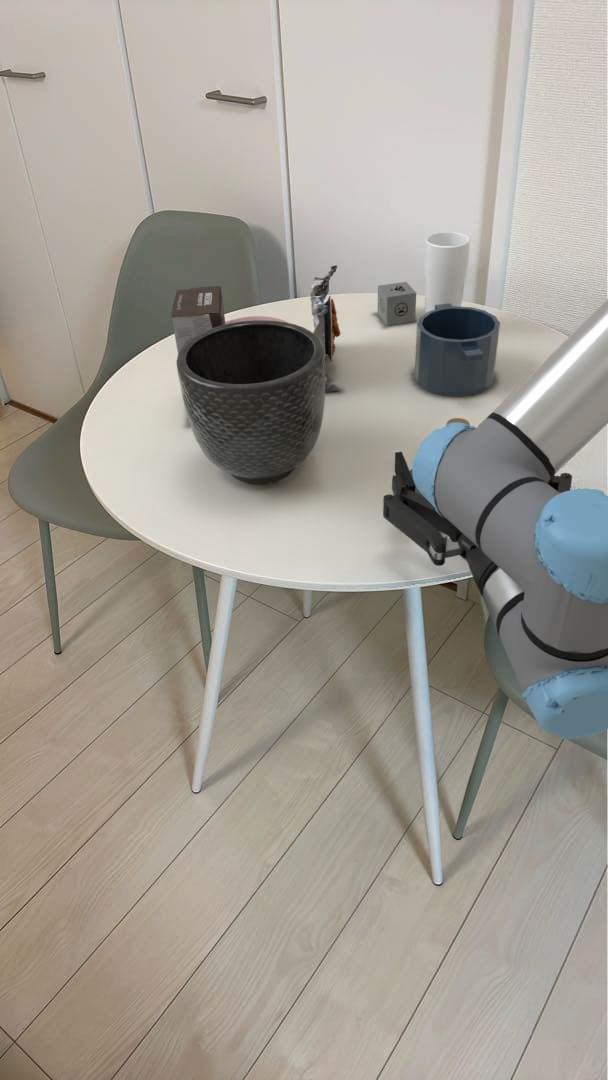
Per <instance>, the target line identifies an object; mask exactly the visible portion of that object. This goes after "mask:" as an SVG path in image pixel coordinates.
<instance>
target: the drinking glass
mask: <svg viewBox="0 0 608 1080" xmlns="http://www.w3.org/2000/svg"><path fill="white" fill-rule="evenodd" d="M424 243H425V244H424V254H423V285H424V286H423V287H424V314H425V313H427V312H428V311H432V310H435V305H440V304H449V303H450V304H451V305H452V307H453V306H459V307H462V302H463V299H464V297H463V296H464V292H465V286H466V279H467V275H468V269H469V261H470V249H471V248H470V246H471V238H470V237H469V236H468V235H466V234H464V233H461V232H455V231H439V232H435V233H432V234H428V236H426V238H425V242H424Z"/></svg>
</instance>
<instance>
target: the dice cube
mask: <svg viewBox="0 0 608 1080" xmlns="http://www.w3.org/2000/svg"><path fill="white" fill-rule="evenodd" d="M416 309H417V292H416V291H415V290H414V289H413V287H412V286H411V285H410V284H409V283H408V282H407V281H402V282H401V281H400V282H395V283H387V284H380V285H377V315H378V317H379V318H380V320H381V321H382V322H383V323H384V325H385V327H389V326H396V325H397V326H398V325H403V324H408V323H415V322H416V312H417V311H416Z"/></svg>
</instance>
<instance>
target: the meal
mask: <svg viewBox="0 0 608 1080" xmlns="http://www.w3.org/2000/svg"><path fill="white" fill-rule="evenodd" d="M337 268H338V265H331V266H330V270H329V271H328V273H326V274H324V276H323V277H322V278H320V277H317V276H314V278H313V282H312V284H310V289H311V293H310V302H311V304H310V306H311V315H312V317H313V319H312V321H313V326H314V330H313V332H312V333H313V334H315V335H316V336H317V337H318V338H319V339H320V341H321V343H322V345H323V349H324V356H325V358H327V356H328V360H330V362H333V356H334V355H335V352H336V350H335V349H336V346H335V345H336V344H335V343H336V342H335V340H336V338H338V337H340V336H341V333H342V332H341V330H340V327H339V323H338V317H337V309H336V304H335V301H334V298H332V295H329V296H328V294H329V292H330V281H331V277H333V275H334V273H336V271H337ZM327 296H328V298H327ZM326 298H327V300H326ZM325 300H326V302H325ZM326 375H327V374H325V393H330V392H340V389H338V388H337V386H336V385H335V384H334V383H333V384H331V383H329V382H328V378H327V376H326Z"/></svg>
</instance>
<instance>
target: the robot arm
mask: <svg viewBox="0 0 608 1080" xmlns="http://www.w3.org/2000/svg"><path fill="white" fill-rule="evenodd" d="M446 424H447V423H446ZM607 425H608V298H607V299H606V300H605V301H604V302H603V303H601V305H600V306H599V307H598V308H597V309H596V310H595V311H594V312H592V314H591V315H590V316H589V317H588V318H587V319H586V320H584V322H583V323H582V324H581V325H579V326H578V327H577V329H576V330H575V331H573V332H572V334H571V335H569V336H568V337H567V338H566V339H565V340H564V341H563V343H561V344H560V345H559V346H558V347H557V348H556V349H555V350H554V351H553V352H552V353H551V354H550V355H549V356H548V357H547V358H546V359H545V360H544V361H543V362H542V363H541V364H540V365H539V366H538V367H537V368H536V369H535V370H534V371H533V372H532V373H531V374H530V375H529V376H527V378H526V379H525V380H524V381H523V382H522V383H520V385H519V386H518V387H517V388H516V389H514V391H512V393H511V394H509V396H507V397H506V399H504V400H503V402H501V403H500V405H498V406H497V407H496V409H494V410H493V411H492V413H490V414H489V415H488V416H487V417H486V418H485V419H484V420H482V422H481V423H479V425H477V426H473V425H470V426H469V425H467V424H465V423H460V422H455V423H450V424H447V425H445V426H444V427H441V428H436V429H435V430H433V431H432V432H431V433H430V434H428V436H426V438H425V439H424V440H423V441H422V443H421V444H420V445H419V448H418V449H417V451H416V453H415V456H414V458H413V462H412V467H411V469H412V475H413V478H412V476H411V473H410V468H409V466H408V463H407V461H406V459H405V456H404V454H403V452H402V451H395V452H394V473H395V474H393V475H392V478H391V491H392V493H393V494H391V493H389V494H385V495H383V497H382V498H383V499H382V500H383V502H382V503H383V504H382V506H383V507H382V517H383V518H384V519H385V520H386V521H387V522H389V523H390V524H391V525H393V526H394V527H395V528H396V529H397V530H399V531H400V532H401V533H402V534H404V535H405V536H406V537H407V538H408V539H410V540H411V541H412V542H414V543H415V544H416V545H418V547H420V548H421V549H422V550H424V551H425V552H426V553H427V555H428V557H429V559H430V560H431V562H432V564H433V565H435V566H437V567H441V566H444V565H445V563H446V559H448V558H451V557H453V558H454V557H458V556H459V557H461V558H462V559H463V560H464V561H466V563H467V565H468V568H469V570H470V573H471V575H472V578H473V580H474V582H475V585H476V587H477V589H478V592H479V594H480V596H481V597H482V599H483V603H484V605H485V607H486V609H487V612H488V615H489V616H490V618H491V619H490V620H491V621H492V623H493V626H494V628H495V630H496V633H497V635H498V637H499V639H500V642H501V643H502V647H503V648H504V650H505V653H506V656H507V658H508V660H509V663H510V665H511V668H512V670H513V673H514V675H515V677H516V680H517V682H518V684H519V687H520V690H521V692H522V694H521V696H522V698H523V700H524V702H525V703H526V704H527V705H528V707H529V710H530V711H531V713H532V715H533V717H534V719H535V721H536V723H537V724H538V726H539V728H540V729H542V730H543V731H544V732H545V733H546V734H548V735H550V736H552V737H554V738H557V739H563V740H576V739H581V738H590V737H593V736H596V735H598V734H601V733H604V732H605V731H607V730H608V495H606V494H605V493H604V491H603V490H601V489H595V488H576V489H572V481H573V475H572V474H571V473H569V472H562V473H560V475H556V474H557V473H558V472H559V471H560V470H561V469H563V467H564V466H565V465H566V464H567V463H568V462H570V460H572V459H573V458H574V456H576V455H577V454H578V453H579V452H580V451H581V450H582V449H583V448H584V447H585V446H586V445H587V444H589V442H590V441H591V440H592V439H594V438H595V437H596V436H597V435H598V433H600V432H601V431H602V430H603V429H604V428H605V427H606V426H607ZM413 480H414V481H413ZM415 485H416V487H417V489H418V491H419V492H420V493H421V494H422V495H423V496H421V495H419V494H417V493H415Z"/></svg>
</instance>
